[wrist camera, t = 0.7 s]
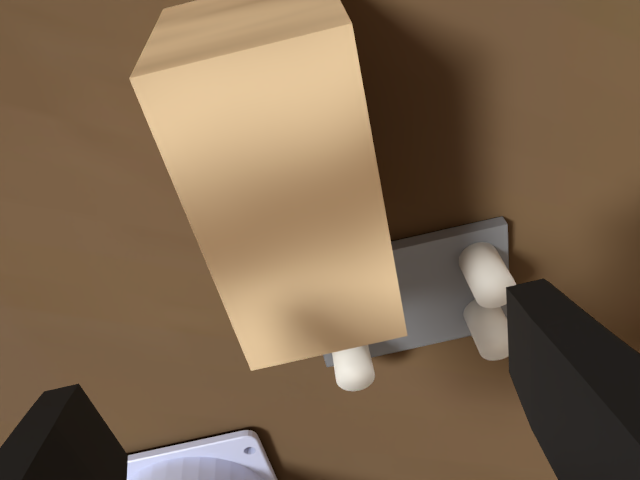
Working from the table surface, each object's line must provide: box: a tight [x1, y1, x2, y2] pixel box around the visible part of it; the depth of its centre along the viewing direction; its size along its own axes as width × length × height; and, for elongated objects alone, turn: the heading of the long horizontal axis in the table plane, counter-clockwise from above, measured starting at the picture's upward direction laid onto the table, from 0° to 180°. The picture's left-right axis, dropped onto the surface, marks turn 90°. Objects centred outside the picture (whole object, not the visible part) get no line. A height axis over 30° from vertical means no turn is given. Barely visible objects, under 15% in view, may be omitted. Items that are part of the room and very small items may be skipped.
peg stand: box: [323, 216, 516, 391], centre depth 21 cm, size 5×7×2 cm
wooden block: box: [129, 0, 408, 371], centre depth 16 cm, size 8×4×6 cm, turn 12°
